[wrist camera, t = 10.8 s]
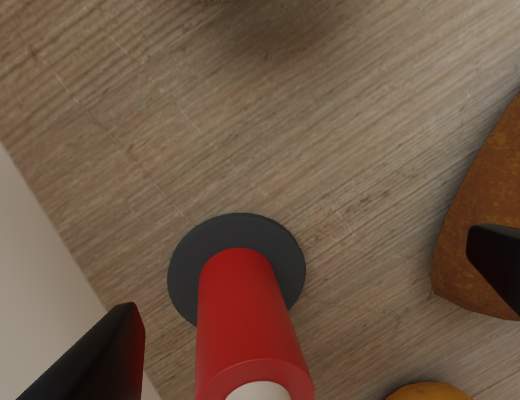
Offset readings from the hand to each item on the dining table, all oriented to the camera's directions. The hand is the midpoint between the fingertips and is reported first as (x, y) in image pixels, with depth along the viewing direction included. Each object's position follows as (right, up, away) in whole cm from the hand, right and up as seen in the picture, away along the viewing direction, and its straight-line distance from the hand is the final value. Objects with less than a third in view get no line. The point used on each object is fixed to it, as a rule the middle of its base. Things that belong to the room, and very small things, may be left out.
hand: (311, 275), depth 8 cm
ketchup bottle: (-3, -4, +13) cm, 14 cm away
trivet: (-3, -3, +14) cm, 15 cm away
